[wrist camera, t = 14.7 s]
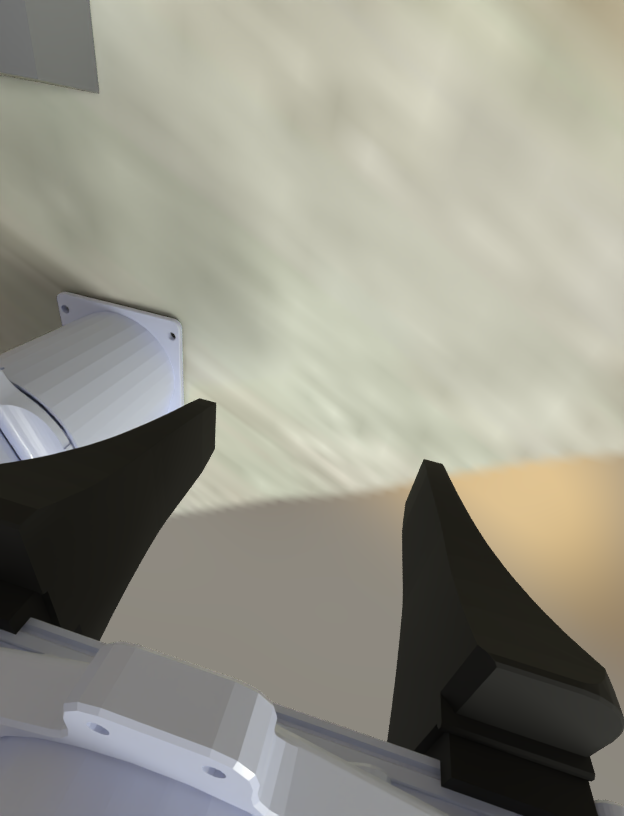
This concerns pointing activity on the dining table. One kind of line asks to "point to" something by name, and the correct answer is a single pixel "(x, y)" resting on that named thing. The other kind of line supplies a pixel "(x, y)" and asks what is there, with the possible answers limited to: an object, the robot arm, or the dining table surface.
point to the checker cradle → (48, 42)
